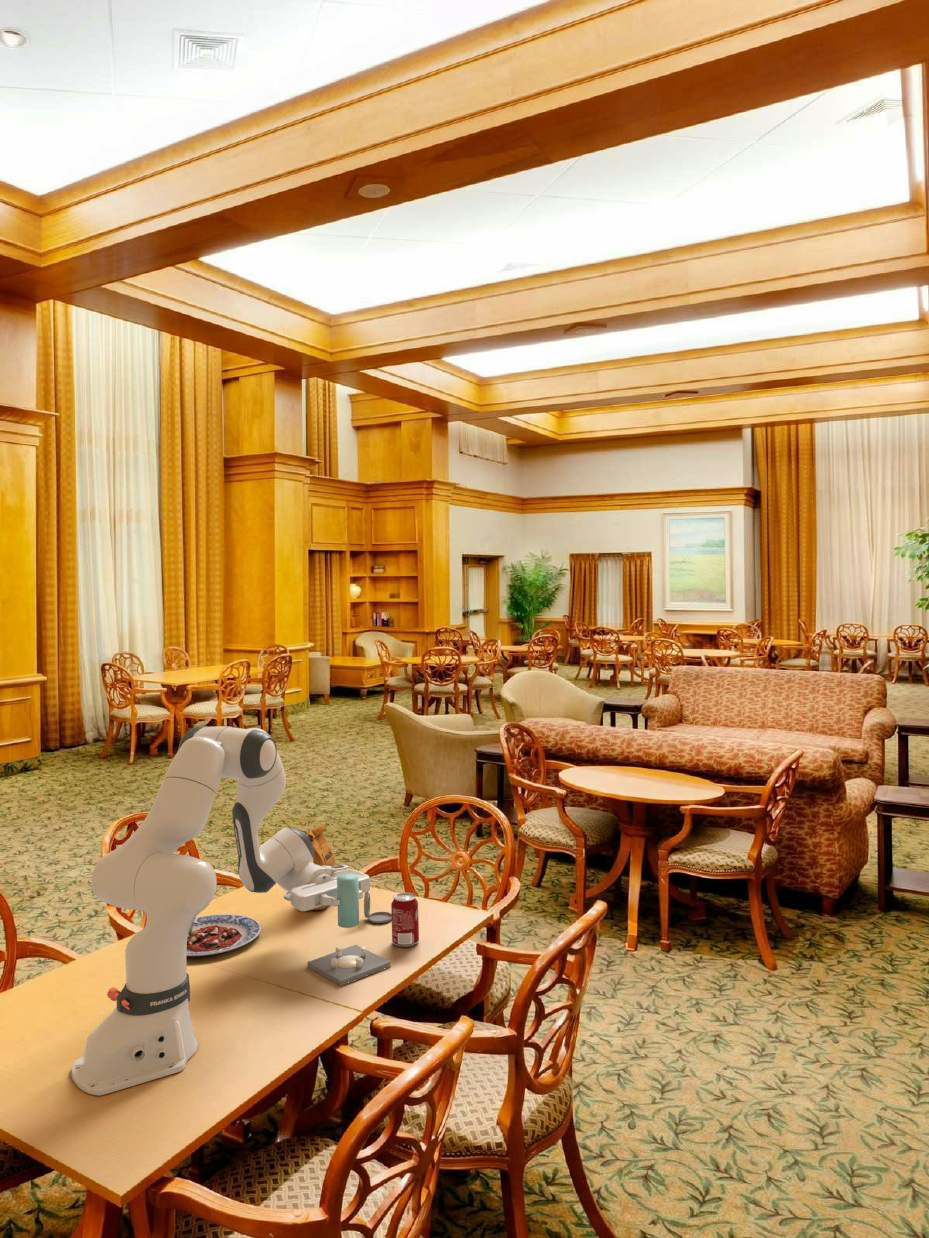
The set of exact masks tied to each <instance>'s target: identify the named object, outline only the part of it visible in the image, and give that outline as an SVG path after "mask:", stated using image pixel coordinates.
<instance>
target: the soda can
mask: <svg viewBox="0 0 929 1238" xmlns="http://www.w3.org/2000/svg"><path fill="white" fill-rule="evenodd" d="M390 913H391V914H392V919H391V938H392V939H391V942H392V944H393V945H395V946H397V947H399V948H411V947H412V946H414V944H415V945H416V944H418V943H419V941H420V929H419V928H420V925H419V919H420V918H419V901H418V900H417V898H416V894H414V893H413V892H412V893H411V892H400V893H399V892H398V893H396V894H394V896H393V900H392V902H391V912H390Z"/></svg>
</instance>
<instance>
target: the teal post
mask: <svg viewBox="0 0 929 1238" xmlns="http://www.w3.org/2000/svg"><path fill="white" fill-rule="evenodd" d="M337 897H339V898H340V900H341V901H340V903H341V904H340V905H339V906H337V925H338V927H339V928H343V929H349V928H350V929H351V928H355V927H358V926H359V925H360V899H359V886H358V876H357V875H354V874H345V875H341V876H338V877H337Z"/></svg>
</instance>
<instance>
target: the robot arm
mask: <svg viewBox="0 0 929 1238" xmlns="http://www.w3.org/2000/svg"><path fill="white" fill-rule="evenodd" d="M222 778H225V779H226V778H227V779H236V782H237V794H236V799H235V803H234V805H233V807H232V810H231V814H232V825H233V831H234V832H233V833H234V839H235V844H236V851H237V858H238V859H237V860H238V863H237V873H238V877H239V879H240V881H241V883H242V885H243V886H244V888H246V889H247V890H248V891H249V892H250V893H256V894H259V893H260V894H264V893H268V892H270V890H271V889H272V888H273V887H274V886H275V885H276V884H277V885H278V886H279V887H280V888H282V889H283V890H285V892H286V894H284V895H283V898H284V900H285V901H288V902H290V905H291V906H292V907H293V908H295V909H296V910H298V911H300V912H307V911H311V910H313V909H314V908H317V907H320V906H323V905H327V906H332V907H333V908H334V907H338V906H339V905H340V904H341V903H340V901H341V900H340V898H339V897H337V877H338V876H341V875H345V874H354V875H357V876H358V886H359V900H360V899H363V898H364V894H365V892H370V890H371V878H370V876H369V875H368V874H367V873H365V872H361V871H360V870H358V869H357V870H356V869H353V868H352V869H351V868H349V866H348V865H347V864H339V865H337V864H336V866H319V865H316V864H314V863H313V861H314V850H313V846H312V843H311V841H310V839H309V838H308V836H307V835H308V834H306V833H305V832H303V831H302V830H301V829H299V828H296V827H294V826H284V827H283V828H281V829H280V830H278V831H277V832H276V833H275V834H273V835H272V836H271V837H270V838H269V839H268V840H266V841H265V842H264V843H261V845H260V844H259V836H258V832H259V831H258V830H259V828H260V826H261V823H262V822H263V820H264V819H265V817H266V816H267V815H268V813H269V812H270V811H271V810H272V809H273V807H275V805H276V804H277V803H278V802H279V800H280V799H281V798H282V796H283V794H284V792H285V790H286V785H287V776H286V771H285V767H284V765H283V762H282V758H281V756H280V753H279V752H278V748H277V745H276V742H275V740H274V739H273V737H272V736H271V734H269V733H268V732H267V731H265V730H263V729H262V728H258V727H248V728H240V727H234V726H228V725H227V726H225V725H223V726H222V725H221V726H219V725H217V726H208V725H201V726H199V725H198V726H195V727H192V728H190V729H188V730H187V731H186V732H185V734H183V736H182V737H181V739H180V741H179V745H178V750H177V752H176V753H175V755H174V757H173V758H172V760H171V763H170V765H169V766H168V767H167V770H166V773H165V774H164V777H163V779H162V782H161V784H160V786H159V790H158V791H157V794H156V797H155V798H154V801H153V803H152V805H151V807H150V810H149V811H148V814H146V817H145V819H144V820H143V821H142V823H141V824H140V825H139V827H138V828H137V829H136V830H135V832H133V833H132V835H130V837H129V838H128V839H127V840H125V842H124V843H122V844H121V845H119V846H118V847H116V848H115V849H114V850H112V851H110V852H108V853H106V854H104V855H103V856H102V857H101V858H100V859H99V861H98V862H97V863H96V865H95V866H94V869H93V871H92V875H91V889H92V893H93V894H94V896H95V898H96V899H97V900H99V901H101V902H104V903H105V904H108V905H110V906H112V907H116V908H119V909H125V910H126V909H128V910H135V911H143V912H145V915H146V924H145V927H144V928H142V929H141V930H139V931H137V932H136V933H135V934H134V935H133V936H132V937H131V938H130V939H129V940H128V943H127V944H126V947H125V950H124V954H125V959H124V960H125V984H124V986H123V987H122V989H121V991H120V990H119V989H118V988H117V987H114V986H113V987H110V988H109V989H108V991H107V994H106V995H107V997H108V999H110V1000H111V1001H112V1002H115V1003H116V1004H115V1005H116V1007H115V1008H114V1009H113V1010H112V1011H111V1012H110V1013H109V1014H108V1016H106V1018H104V1019H103V1020H102V1021H101V1022H100V1023H99V1024H98V1025H97V1026H96V1027H95V1028H94V1029H93V1030H92V1031H91V1032H90V1033H89V1035H88V1036H87V1040H86V1043H85V1048H84V1054H83V1055H84V1056H82V1057H80V1058H78V1059H76V1060H75V1061H74V1062H73V1063H72V1065H71V1066H72V1067H71V1071H70V1072H71V1078H72V1081H73V1082H74V1084H75V1085H76V1086H77V1087H78V1088H79V1089H80V1090H81V1091H83V1092H84V1093H86V1094H89V1095H93V1096H99V1097H100V1096H104V1095H108V1094H110V1093H114V1092H117V1091H120V1090H124V1089H127V1088H130V1087H133V1086H137V1085H141V1084H144V1083H148V1082H150V1081H153V1080H157V1079H160V1078H163V1077H166V1076H170V1075H173V1074H176V1073H180V1072H181V1071H184V1070H185V1068H186V1065H187V1062H188V1060H190V1058H191V1057H193V1055H194V1054H195V1052H196V1051H197V1049H198V1047H199V1043H198V1040H197V1038H196V1035H195V1032H194V1028H193V1023H192V1018H191V1011H190V1000H191V995H190V994H191V985H190V984H191V983H190V976H189V973H188V971H187V970H188V969H187V963H188V961H187V957H188V956H187V938H188V933H189V929H190V927H191V924H192V922H193V920H194V919H195V918H197V917H198V915H200V914H201V913H202V912H203V911H204V910H206V908H208V906H209V905H210V904H211V902H212V901H213V899H214V897H215V895H216V890H217V886H218V885H217V884H218V881H217V880H218V879H217V874H216V871H215V869H214V866H213V865H212V864H211V863H209V862H208V861H205V860H203V859H200V858H197V857H194V856H191V855H188V854H178V853H176V852H177V851H178V850H179V848H180V847H182V846H183V845H184V844H186V843H187V842H189V841H191V840H193V839H195V838H196V837H198V836H200V834H201V833H203V830H204V829H205V827H206V825H207V821H208V819H209V817H210V816H209V815H210V814H211V810H212V807H213V805H214V802H215V800H216V797H217V793H218V791H219V788H220V785H221V780H222Z"/></svg>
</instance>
